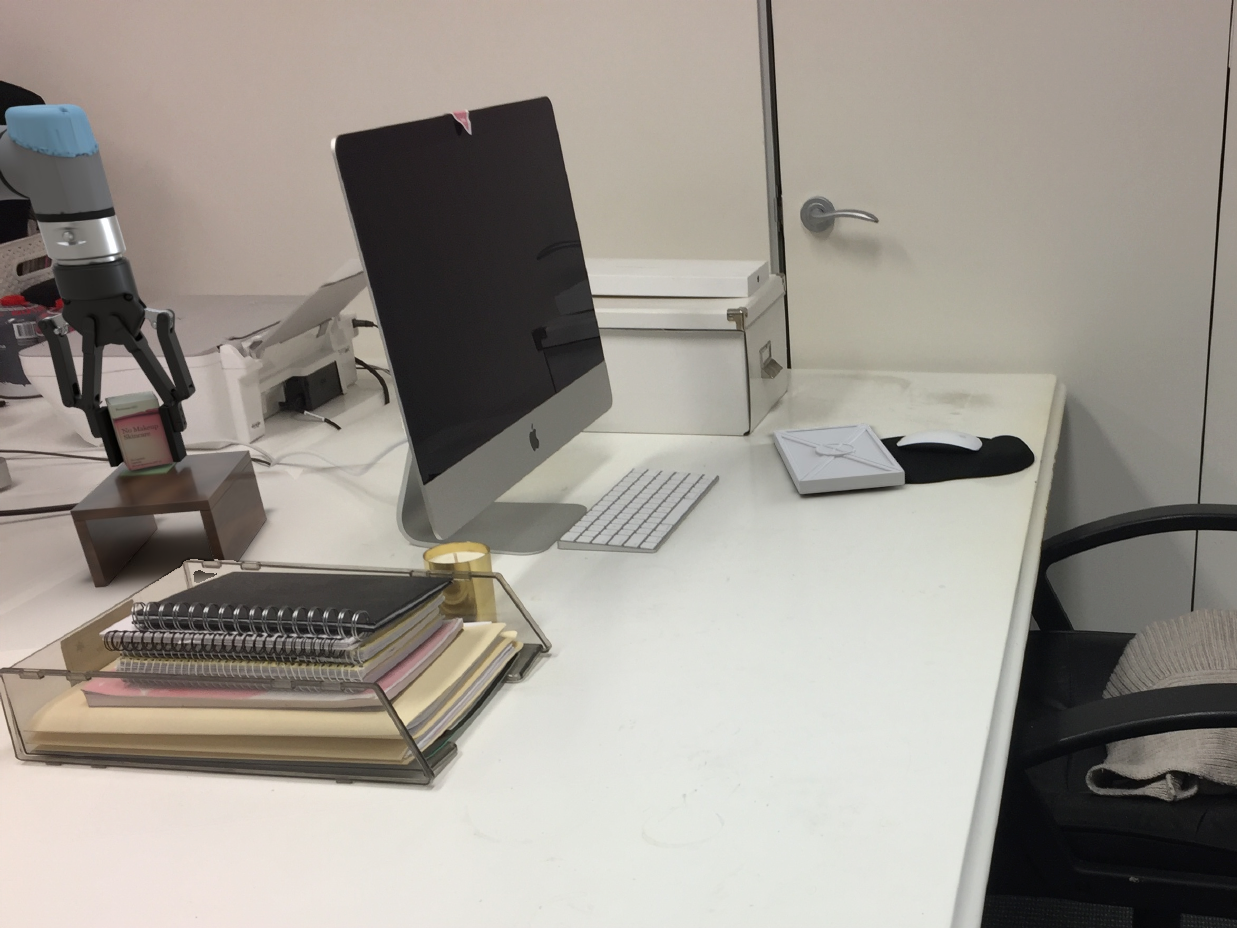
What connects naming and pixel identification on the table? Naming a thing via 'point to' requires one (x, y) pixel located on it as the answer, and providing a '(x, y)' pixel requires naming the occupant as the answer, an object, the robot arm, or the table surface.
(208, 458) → the shelf
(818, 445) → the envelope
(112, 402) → the small box
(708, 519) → the table surface
